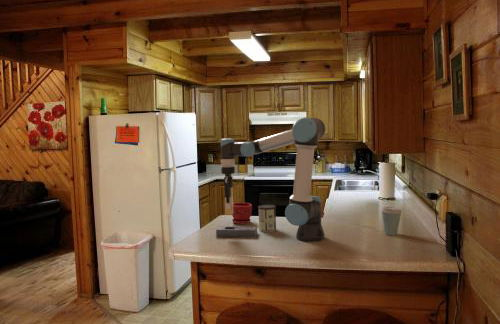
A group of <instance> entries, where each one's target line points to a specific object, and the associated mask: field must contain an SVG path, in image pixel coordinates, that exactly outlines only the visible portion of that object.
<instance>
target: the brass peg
mask: <svg viewBox="0 0 500 324" xmlns="http://www.w3.org/2000/svg"><path fill="white" fill-rule="evenodd" d="M223 193H224V196H225V191H224V192H223ZM230 197H231V209H226V198H225V197H224V215H225V216H232V214H233V203H234V189H233V187H230Z"/></svg>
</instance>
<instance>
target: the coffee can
mask: <svg viewBox="0 0 500 324" xmlns="http://www.w3.org/2000/svg"><path fill="white" fill-rule="evenodd" d="M276 207H277V206H276V205H274V204H261V205H258V206H257V208H258V231H259V232H264V233H269V232H270V233H271V232H275V231H277V215H276V213H277V211H276Z"/></svg>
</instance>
